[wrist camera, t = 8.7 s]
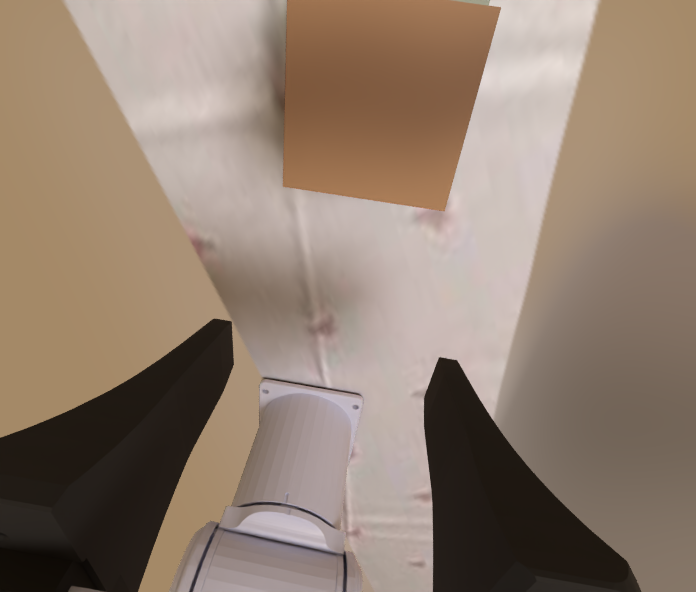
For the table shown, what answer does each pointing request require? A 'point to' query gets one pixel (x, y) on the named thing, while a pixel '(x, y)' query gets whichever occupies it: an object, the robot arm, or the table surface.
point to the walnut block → (381, 95)
